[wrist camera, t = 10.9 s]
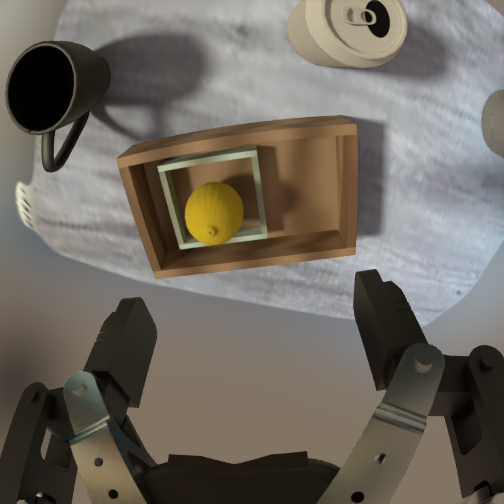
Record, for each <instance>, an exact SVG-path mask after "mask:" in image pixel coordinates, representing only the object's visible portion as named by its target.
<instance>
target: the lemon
mask: <svg viewBox="0 0 504 504" xmlns="http://www.w3.org/2000/svg"><path fill="white" fill-rule="evenodd" d="M243 211H244V208H243V204H242V200H241V198H240V196H239V194H238V193H237V192H236V191H235V190H234V189H233V188H232V187H231V186H229V185H227V184H225V183H222V182H208V183H205V184H203V185H201V186H199V187H198V188H197V189H196V190H194V191H193V193H192V194H191V196H190V197H189V199H188V201H187V204H186V208H185V220H186V225H187V228H188V230H189V232H190V233H191V235H192V236H193V237H194V238H195V239H197V240H198V241H200V242H202V243H204V244H208V245H219V244H223V243H225V242H227V241H229V240H230V239H231V238H232V237H233V236H235V234H236V233H237V231H238V230H239V228H240V226H241V223H242V220H243Z"/></svg>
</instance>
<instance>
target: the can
mask: <svg viewBox="0 0 504 504" xmlns="http://www.w3.org/2000/svg"><path fill="white" fill-rule="evenodd" d="M407 28H408V21H407V17H406V13H405V10H404V8H403V6H402V4H401V3H400V1H399V0H302V1H301V2H300V3H299V4H298V6H297V7H296V8H295V9H294V10H293V11H292V13H291V15H290V17H289V20H288V25H287V34H288V37H289V40H290V43H291V45H292V46H293V48H294V49H295V51H296V52H297V53H298V54H299V55H300V56H302V57H303V58H304V59H305V60H306V61H309V62H311V63H313V64H316V65H319V66H326V67H352V68H368V67H377V66H380V65H382V64H384V63H386V62H388V61H391V60H392V59H393V58H394V57H395V56H396V54H397V53H398V52H399V51H400V50H401V47H402V45H403V43H404V40H405V38H406V36H407Z"/></svg>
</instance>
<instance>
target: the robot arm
mask: <svg viewBox="0 0 504 504" xmlns="http://www.w3.org/2000/svg"><path fill="white" fill-rule="evenodd" d="M482 130H483V136H484V139H485V141H486V143H487V145H488V147H489V148H490V149H491V151H493V152H494V153H495V154H497V155H499V156H501V157H503V158H504V90H499V91H496V92H494V93H493V94H492V95H491V96H490V97H489V99H488V100H487V102H486V104H485V107H484V110H483V115H482ZM353 308H354V316H355V320H356V323H357V325H358V329H359V332H360V336H361V339H362V342H363V345H364V349H365V352H366V355H367V359H368V362H369V366H370V369H371V373H372V376H373V379H374V383H375V387H376V390H377V391H379V390H384V389H386V393H385V395H384V397H383V399H382V401H381V403H380V405H379V406H378V407H377V408H376V410H375V411H374V413H373V415H372V417H371V419H370V420H369V422H368V424H367V426H366V428H365V429H364V431H363V433H362V435H361V437H360V438H359V440H358V441H357V443H356V445H355V447H354V448H353V450H352V451H351V453H350V455H349V456H348V458H347V459H346V461H345V463H344V464H343V466H342V467H341V468H340V467H338V466H336V465H334V464H332V463H329V462H325V461H322V460H318V459H311V458H307V457H308V456H307V451H303V452H295V453H284V454H271V455H268V456H265V457H261V458H258V459H254V460H250V461H246V462H243V463H239V464H231V463H226V462H222V461H218V460H214V459H210V458H206V457H203V456H190V455H173V454H169V458H168V462H166V463H162V464H159V465H158V464H157V463H156V462H155V460H154V459H153V458H152V457H151V456H150V455H149V453H148V452H147V450H146V448H145V447H144V445H143V443H142V441H141V439H140V437H139V436H138V434H137V432H136V430H135V428H134V426H133V424H132V422H131V420H130V418H129V416H128V415H127V414H126V412H127V408H128V407H135V408H139V405H140V400H141V396H142V392H143V388H144V384H145V381H146V377H147V372H148V369H149V365H150V362H151V358H152V354H153V351H154V347H155V344H156V339H157V329H156V325H155V323H154V321H153V319H152V317H151V315H150V313H149V311H148V309H147V307H146V305H145V303H144V301H143V299H142V298H140V297H135V298H124V299H122V300H121V301H120V303H119V305H118V307H117V310H116V312H112V313H111V315H110V316H109V317H108V318H107V319H106V320H105V321H104V323H103V325H102V328H101V330H100V334H99V335H98V337H97V339H96V342H95V343H94V346H93V348H92V351H91V353H90V355H89V358H88V361H87V362H86V365H85V367H84V370H83V372H78V373H76V374H74V375H72V376H71V377H70V378H69V379H68V380H67V381H66V383H65V385H64V387H61V388H57V389H53V390H48V388H47V387H46V386H45V385H43V384H42V383H40V382H35V383H32V384H30V385H29V386H28V387H27V388H26V389H25V390H24V391H23V393H22V395H21V398H20V401H19V403H18V406H17V409H16V411H15V414H14V417H13V419H12V422H11V425H10V428H9V431H8V434H7V437H6V440H5V444H4V447H3V450H2V454H1V457H0V504H72V497H73V491H74V485H75V479H76V474H77V469H78V470H79V472H80V475H81V478H82V480H83V483H84V485H85V487H86V490H87V492H88V495H89V497H90V499H91V502H92V504H389V502H390V500H391V498H392V497H393V495H394V493H395V491H396V489H397V488H398V486H399V484H400V482H401V480H402V478H403V476H404V474H405V473H406V470H407V469H408V466H409V464H410V462H411V460H412V458H413V456H414V454H415V451H416V449H417V447H418V445H419V443H420V440H421V438H422V436H423V433H424V430H425V428H426V419H427V416H444V418H445V421H446V425H447V429H448V433H449V437H450V441H451V445H452V450H453V454H454V459H455V463H456V468H457V473H458V478H459V483H460V489H461V494H462V499H461V500H460V501H459V502H458V503H457V504H504V357H503V355H502V354H501V353H500V352H499V351H498V350H497V349H496V348H494V347H491V346H488V345H482V346H478V347H476V348H474V349H473V350H472V352H471V353H470V355H469V356H448V355H443V354H442V352H441V351H440V350H439V349H438V348H437V347H435V346H433V345H431V344H428V342H427V340H426V338H425V336H424V334H423V332H422V329H421V327H420V325H419V323H418V321H417V319H416V317H415V315H414V313H413V311H412V310H411V307H410V305H409V303H408V302H407V299H406V297H405V295H404V293H403V292H402V290H401V289H400V288H399V287H398V286H397V285H396V284H394V283H393V282H392V281H387V282H383V281H382V279H381V277H380V275H379V273H378V271H377V270H376V269H372V270H366V271H359V272H356V274H355V286H354V301H353ZM46 429H47V430H48V431H50V432H51V433H52V434H51V438H50V442H49V445H48V449H47V453H46V457H45V460H44V459H43V458H42V456H41V452H40V451H41V446H42V442H43V438H44V435H45V431H46Z"/></svg>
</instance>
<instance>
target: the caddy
mask: <svg viewBox="0 0 504 504" xmlns="http://www.w3.org/2000/svg"><path fill="white" fill-rule="evenodd" d="M116 161H117V164H118V168H119V171H120V175H121V178H122V181H123V185H124V188H125V191H126V195H127V198H128V201H129V204H130V207H131V211H132V214H133V217H134V220H135V223H136V226H137V229H138V232H139V235H140V237H141V240H142V243H143V246H144V249H145V252H146V254H147V257H148V260H149V263H150V265H151V268H152V271H153V273H154V276H155V279H159V278H168V277H177V276H186V275H195V274H204V273H212V272H221V271H230V270H238V269H247V268H255V267H263V266H271V265H280V264H288V263H296V262H304V261H312V260H319V259H327V258H335V257H343V256H350V255H355V253H356V235H357V209H358V137H357V124H356V123H354V122H352V121H351V120H349V119H347V118H345V117H343V116H342V115H337V116H319V117H305V118H293V119H283V120H273V121H264V122H256V123H248V124H241V125H234V126H227V127H221V128H215V129H209V130H203V131H197V132H192V133H187V134H181V135H176V136H172V137H167V138H162V139H158V140H153V141H149V142H145V143H140V144H136V145H133V146H131V147H130V148H129V149H128V150H126V151H125V152H124V153H123V154H121V155H120V156H119V157H118V158H116ZM208 182H222V183H225V184H227V185H229V186H231V187H232V188H233V189H234V190H235V191H236V192H237V193H238V194H239V196H240V198H241V200H242V204H243V208H244V211H243V220H242V223H241V226H240V228H239V230H238V231H237V233H236V234H235V236H233V237H232V238H231V239H230V240H229V241H227V242H225V243H223V244H219V245H208V244H204V243H202V242H200V241H198V240H197V239H195V238H194V237H193V236H192V235H191V233H190V232H189V230H188V228H187V225H186V220H185V208H186V204H187V201H188V199H189V197H190V196H191V194H192V193H193V191H194V190H196V189H197V188H198V187H199V186H201V185H203V184H205V183H208Z"/></svg>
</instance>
